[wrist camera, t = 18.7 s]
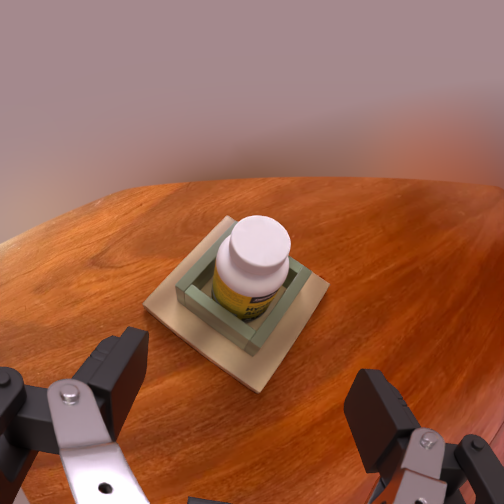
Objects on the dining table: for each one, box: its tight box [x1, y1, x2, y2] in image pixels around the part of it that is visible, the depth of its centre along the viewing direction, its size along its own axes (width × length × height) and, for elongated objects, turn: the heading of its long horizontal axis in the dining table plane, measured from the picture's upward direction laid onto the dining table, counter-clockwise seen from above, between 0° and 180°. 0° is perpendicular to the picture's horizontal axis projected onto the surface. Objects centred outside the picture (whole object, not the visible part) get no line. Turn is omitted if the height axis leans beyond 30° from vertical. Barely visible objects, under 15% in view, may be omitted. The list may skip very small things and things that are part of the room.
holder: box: [142, 215, 330, 394], centre depth 27 cm, size 13×13×5 cm
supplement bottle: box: [211, 216, 291, 323], centre depth 24 cm, size 5×5×10 cm
